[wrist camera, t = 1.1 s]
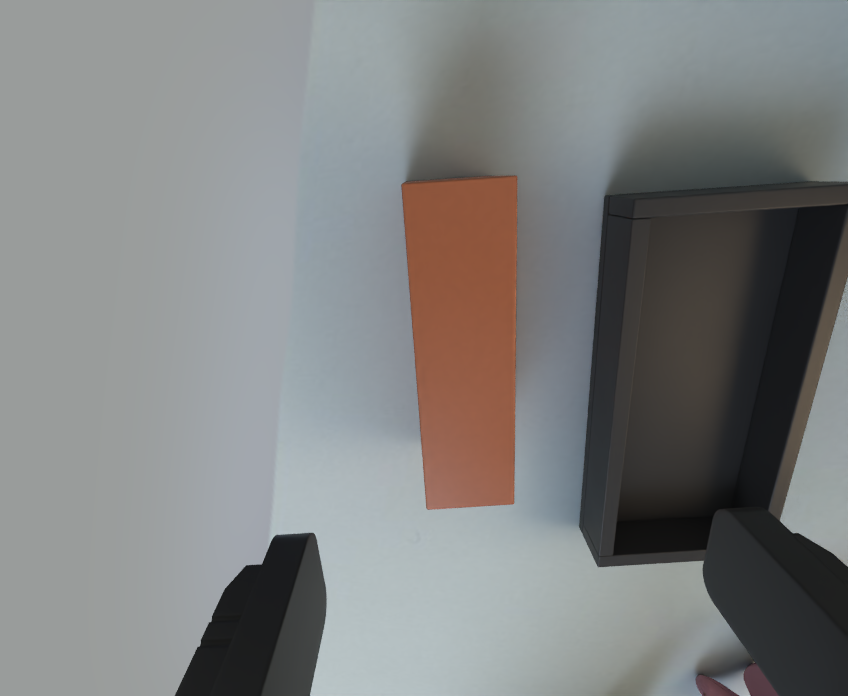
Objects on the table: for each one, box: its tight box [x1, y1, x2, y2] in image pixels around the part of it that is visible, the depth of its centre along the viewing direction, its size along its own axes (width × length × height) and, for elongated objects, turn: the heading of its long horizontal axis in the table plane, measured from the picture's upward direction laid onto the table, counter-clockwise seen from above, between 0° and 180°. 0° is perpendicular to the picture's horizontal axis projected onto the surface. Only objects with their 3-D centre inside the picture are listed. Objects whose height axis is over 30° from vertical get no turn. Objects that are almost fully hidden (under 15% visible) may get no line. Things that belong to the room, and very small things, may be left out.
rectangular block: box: [401, 175, 517, 510], centre depth 20 cm, size 14×4×6 cm, turn 4°
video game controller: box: [696, 663, 779, 696], centre depth 30 cm, size 10×5×7 cm, turn 153°
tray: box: [579, 181, 848, 567], centre depth 23 cm, size 20×10×3 cm, turn 4°
